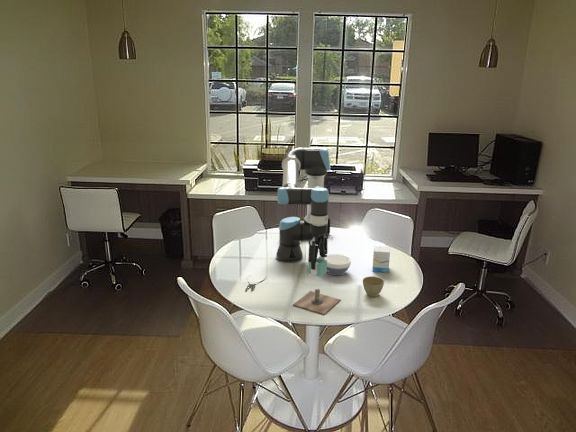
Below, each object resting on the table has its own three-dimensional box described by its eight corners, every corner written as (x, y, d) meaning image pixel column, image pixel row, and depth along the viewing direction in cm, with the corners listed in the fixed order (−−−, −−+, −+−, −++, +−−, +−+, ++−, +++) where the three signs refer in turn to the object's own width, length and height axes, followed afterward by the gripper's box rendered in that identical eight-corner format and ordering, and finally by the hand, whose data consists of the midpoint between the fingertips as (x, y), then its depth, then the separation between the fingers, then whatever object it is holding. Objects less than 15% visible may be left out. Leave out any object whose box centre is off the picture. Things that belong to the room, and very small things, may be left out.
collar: (308, 274, 200) (308, 261, 199) (315, 269, 205) (315, 257, 203) (320, 277, 197) (320, 264, 196) (326, 272, 202) (327, 260, 200)
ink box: (388, 273, 238) (390, 252, 235) (372, 271, 240) (373, 251, 237) (388, 266, 246) (389, 246, 243) (372, 265, 248) (373, 245, 245)
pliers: (266, 274, 235) (265, 291, 216) (266, 275, 235) (265, 292, 216) (247, 274, 235) (245, 291, 215) (247, 275, 235) (245, 292, 216)
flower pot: (359, 290, 218) (360, 276, 216) (379, 289, 219) (380, 276, 217) (364, 299, 209) (365, 285, 207) (385, 299, 210) (386, 285, 208)
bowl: (334, 264, 248) (335, 252, 246) (355, 272, 239) (356, 259, 236) (317, 272, 239) (317, 258, 237) (338, 280, 229) (338, 266, 227)
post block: (292, 305, 203) (293, 292, 201) (310, 292, 216) (310, 279, 214) (324, 315, 195) (324, 301, 193) (340, 300, 208) (341, 287, 206)
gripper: (315, 230, 185) (314, 282, 192) (336, 219, 200) (334, 267, 207) (300, 227, 189) (299, 278, 195) (321, 217, 204) (320, 264, 211)
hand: (317, 272), depth 201 cm, fingers closed on collar, 6 cm apart
